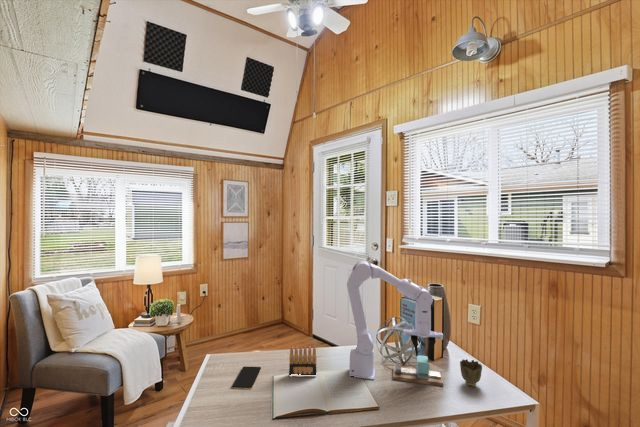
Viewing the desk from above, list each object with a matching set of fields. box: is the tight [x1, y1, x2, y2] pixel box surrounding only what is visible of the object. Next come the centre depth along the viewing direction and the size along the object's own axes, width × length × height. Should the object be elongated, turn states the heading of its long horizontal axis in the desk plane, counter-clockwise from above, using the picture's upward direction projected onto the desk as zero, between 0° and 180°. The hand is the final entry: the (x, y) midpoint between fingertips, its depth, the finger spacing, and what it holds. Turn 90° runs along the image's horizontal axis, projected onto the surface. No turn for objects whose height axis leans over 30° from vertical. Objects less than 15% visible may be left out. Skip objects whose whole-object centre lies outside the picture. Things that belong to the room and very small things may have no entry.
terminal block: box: [416, 354, 430, 379], centre depth 121 cm, size 4×7×6 cm, turn 167°
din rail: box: [395, 363, 442, 379], centre depth 122 cm, size 17×5×2 cm, turn 76°
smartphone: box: [231, 366, 262, 390], centre depth 120 cm, size 7×1×15 cm
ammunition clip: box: [288, 344, 317, 376], centre depth 122 cm, size 11×2×12 cm, turn 91°
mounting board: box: [392, 364, 444, 387], centre depth 122 cm, size 18×9×1 cm, turn 76°
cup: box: [459, 359, 483, 388], centre depth 116 cm, size 8×7×8 cm
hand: (422, 355), depth 121 cm, fingers open, 4 cm apart
